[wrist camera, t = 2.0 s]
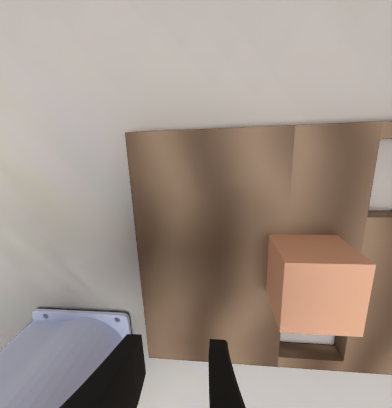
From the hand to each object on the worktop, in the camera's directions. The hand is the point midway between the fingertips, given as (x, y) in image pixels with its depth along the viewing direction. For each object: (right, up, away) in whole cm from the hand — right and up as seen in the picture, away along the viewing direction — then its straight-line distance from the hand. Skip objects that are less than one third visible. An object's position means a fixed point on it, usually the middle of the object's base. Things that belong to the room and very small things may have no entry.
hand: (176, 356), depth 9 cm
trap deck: (+9, +2, +8) cm, 12 cm away
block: (+8, +2, +7) cm, 11 cm away
